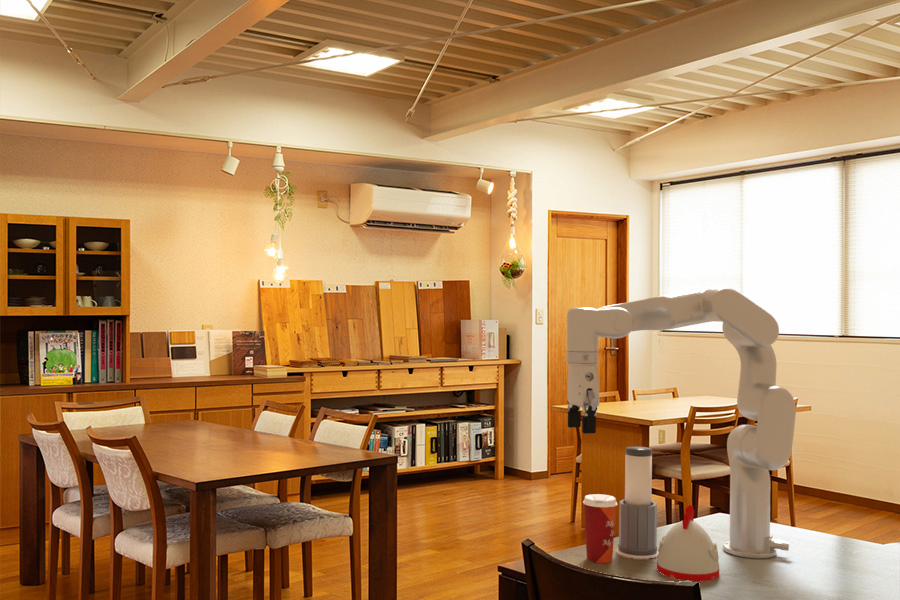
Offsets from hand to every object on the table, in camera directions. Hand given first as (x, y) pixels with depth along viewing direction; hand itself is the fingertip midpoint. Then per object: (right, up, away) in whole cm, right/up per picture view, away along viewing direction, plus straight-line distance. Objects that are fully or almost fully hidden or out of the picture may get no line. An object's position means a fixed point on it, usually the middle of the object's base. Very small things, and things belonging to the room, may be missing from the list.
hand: (581, 430), depth 200 cm
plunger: (+15, -23, +6) cm, 28 cm away
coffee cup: (+4, -32, +1) cm, 32 cm away
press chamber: (+15, -32, +6) cm, 35 cm away
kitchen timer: (+23, -32, -7) cm, 40 cm away
